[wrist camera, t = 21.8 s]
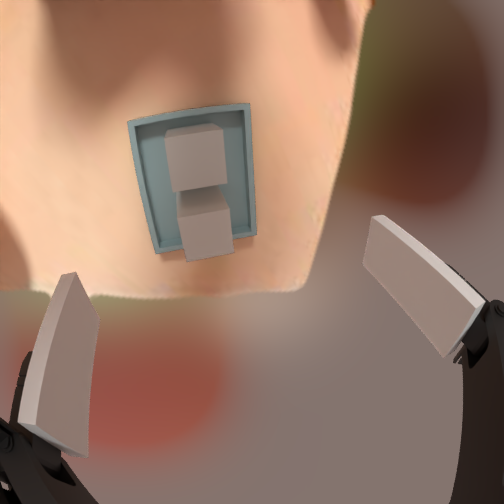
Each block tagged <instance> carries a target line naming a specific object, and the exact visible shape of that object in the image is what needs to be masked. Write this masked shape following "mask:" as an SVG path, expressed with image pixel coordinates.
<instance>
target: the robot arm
mask: <svg viewBox="0 0 504 504" xmlns="http://www.w3.org/2000/svg"><path fill="white" fill-rule="evenodd" d="M363 265H364V267H365V268H366V269H367V270H368V271H369V272H370V273H371V274H372V275H373V276H374V277H375V278H376V280H377V281H378V282H379V283H380V284H381V285H382V286H383V287H384V288H385V289H386V290H387V291H388V293H389V294H390V295H391V296H392V297H393V298H394V299H395V301H396V302H397V303H398V304H399V305H400V306H401V307H402V308H403V309H404V311H405V312H406V313H407V314H408V315H409V317H410V318H411V319H412V320H413V321H414V322H415V324H416V325H417V326H418V327H419V328H420V330H421V331H422V332H423V333H424V334H425V336H426V337H427V338H428V339H429V341H430V342H431V343H432V344H433V346H434V347H435V348H436V349H437V350H438V352H439V353H440V354H441V356H442V357H443V358H445V357H447V356H448V355H449V354H451V353H452V352H453V351H455V349H456V348H457V347H458V345H459V344H460V342H461V341H462V342H463V343H464V345H463V347H462V348H461V350H460V351H459V352H458V354H457V355H456V356H455V358H454V361H453V363H456V362H457V360H458V359H459V358H460V356H462V358H461V359H460V360H459V362H458V364H462V368H463V422H462V435H461V445H460V453H459V461H458V467H457V473H456V478H455V483H454V487H453V492H452V496H451V500H450V503H449V504H504V303H503V302H502V301H499V300H493V301H491V302H489V301H488V300H486V299H485V298H484V297H483V296H482V295H481V294H480V293H479V292H478V291H477V290H476V289H475V288H474V287H473V286H472V285H471V284H470V283H469V282H468V281H465V278H463V277H462V276H461V275H459V273H458V272H457V271H456V270H454V269H453V268H452V267H451V266H450V265H448V264H446V263H444V262H443V261H442V260H440V259H439V258H438V257H437V256H436V255H434V254H433V253H432V252H431V251H430V250H429V249H427V248H426V247H425V246H424V245H422V244H421V243H420V242H419V241H417V240H416V239H415V238H414V237H412V236H411V235H410V234H408V233H407V232H406V231H405V230H403V229H402V228H401V227H399V226H398V225H397V224H395V223H394V222H393V221H391V220H390V219H388V218H387V217H386V216H384V215H379V216H373V217H371V223H370V229H369V234H368V240H367V245H366V250H365V255H364V259H363ZM99 324H100V318H99V316H98V314H97V313H96V311H95V309H94V307H93V305H92V303H91V301H90V299H89V297H88V296H87V294H86V292H85V290H84V288H83V286H82V284H81V281H80V279H79V277H78V275H77V273H76V272H73V273H68V274H64V275H61V277H60V280H59V282H58V284H57V287H56V289H55V291H54V294H53V296H52V298H51V301H50V303H49V306H48V309H47V311H46V314H45V316H44V319H43V322H42V325H41V328H40V331H39V334H38V337H37V340H36V343H35V346H34V350H33V351H31V352H28V354H27V356H26V357H25V359H24V361H23V363H22V366H21V369H20V373H19V376H20V377H18V381H17V387H16V389H15V395H14V399H13V404H12V409H11V416H10V421H9V424H8V423H7V422H6V421H4V420H3V419H2V418H0V481H2V482H4V483H6V484H8V488H9V490H5V489H3V488H2V485H1V482H0V504H98V502H97V501H96V500H95V499H94V498H93V497H92V495H91V494H90V493H89V492H88V491H87V489H86V488H85V487H84V485H83V484H82V483H81V482H80V481H79V479H78V478H77V476H76V475H75V474H74V472H73V471H72V469H71V468H70V467H69V465H68V464H67V462H66V461H65V460H64V459H63V458H62V457H61V451H63V452H64V453H66V454H68V455H70V456H74V457H85V458H88V423H89V403H90V390H91V379H92V370H93V362H94V354H95V348H96V341H97V335H98V330H99Z"/></svg>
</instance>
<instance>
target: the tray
mask: <svg viewBox="0 0 504 504" xmlns="http://www.w3.org/2000/svg"><path fill="white" fill-rule="evenodd" d="M127 123H128V130H129V136H130V143H131V148H132V154H133V160H134V165H135V170H136V175H137V180H138V185H139V189H140V194H141V198H142V203H143V207H144V211H145V215H146V219H147V223H148V227H149V231H150V235H151V239H152V243H153V246H154V250H155V253H156V254H159V253H164V252H169V251H174V250H179V249H184V248H183V244H182V239H181V235H180V230H179V225H178V221H177V204H176V192H174V193H173V191H172V186H171V180H170V174H169V168H168V161H167V155H166V148H165V141H164V137H165V134H166V131H167V129H172V128H178V127H184V126H190V125H197V124H204V123H213V124H215V125H217V126H218V127H220V128H221V129H223V137H224V149H225V161H226V172H227V184H220V185H218V186H219V188H220V190H221V192H222V194H223V196H224V199H225V201H226V203H227V205H228V207H229V209H230V218H231V228H232V237H233V239H238V238H243V237H249V236H254V235H257V227H256V207H255V187H254V168H253V149H252V131H251V113H250V103H239V104H227V105H217V106H208V107H200V108H193V109H186V110H180V111H174V112H168V113H163V114H157V115H152V116H148V117H143V118H138V119H134V120H130V121H128V122H127Z"/></svg>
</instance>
